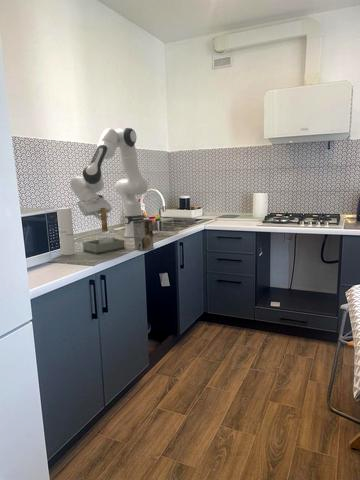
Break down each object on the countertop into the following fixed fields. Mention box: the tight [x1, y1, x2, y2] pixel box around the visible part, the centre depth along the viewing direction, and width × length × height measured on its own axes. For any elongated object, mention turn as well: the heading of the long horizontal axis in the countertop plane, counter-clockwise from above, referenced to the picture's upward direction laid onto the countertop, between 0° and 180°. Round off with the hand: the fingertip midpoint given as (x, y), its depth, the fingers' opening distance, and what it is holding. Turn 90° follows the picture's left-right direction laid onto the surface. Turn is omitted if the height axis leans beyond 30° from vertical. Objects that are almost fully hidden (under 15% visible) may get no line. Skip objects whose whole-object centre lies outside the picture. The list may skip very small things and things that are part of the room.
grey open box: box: [82, 236, 125, 255], centre depth 204 cm, size 18×15×7 cm
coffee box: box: [133, 219, 155, 252], centre depth 200 cm, size 9×6×16 cm
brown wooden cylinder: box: [100, 208, 109, 233], centre depth 199 cm, size 3×3×13 cm
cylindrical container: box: [57, 207, 76, 256], centre depth 195 cm, size 7×7×25 cm
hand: (104, 218), depth 199 cm, fingers closed on brown wooden cylinder, 3 cm apart
